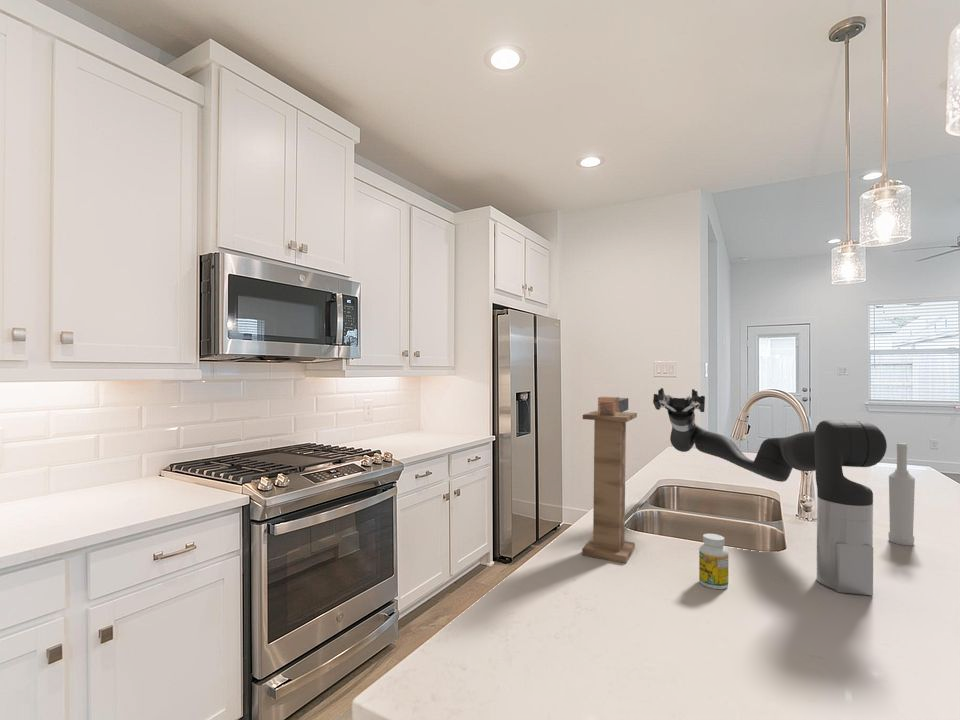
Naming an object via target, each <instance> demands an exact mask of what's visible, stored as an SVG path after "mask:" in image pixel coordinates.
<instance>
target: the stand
mask: <svg viewBox="0 0 960 720" xmlns="http://www.w3.org/2000/svg"><path fill="white" fill-rule="evenodd" d="M637 414H638V412H627V411H624V412H621V413H619V415H616V416H609V415H598V410H594V411H590V412H587V413H584V414H582V420H592V421H594V439H593V440H594V441H593V443H594V444H593V445H594V446H593V450H594V451H593V510H592V511H593V515H592V516H593V517H592V518H593V523H592V524H593V526H592V532H593V533H592V534H593V535H592V537H591V538H590V539H589V540H588V541H587V542H586V543H585V545H584V546H583V547H582V550H581V554H582V556H586V557H592V558H596V559H602V560H607V561H610V562H611V561H612V562H617V563H623V564H627V563H628V562H629V560H630V558H631V556H632V555H633V552H634V550H635V549H636V548H635V545H636V542H632V541H627V540H625V538H626V537H625V536H626V535H625V534H626V533H625V530H626V529H625V528H626V527H625V525H626V523H625V521H626V516H625V515H626V450H627V449H626V447H627V445H626V444H627V443H626V441H627V439H626V435H627V434H626V433H627V423H628V422H630V421H632V420H634V419H636V418H637V416H638V415H637Z"/></svg>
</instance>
